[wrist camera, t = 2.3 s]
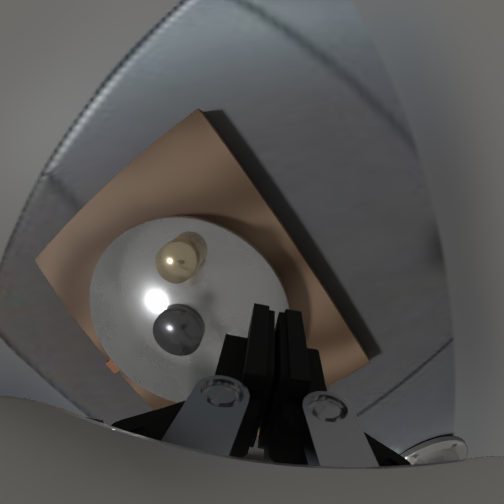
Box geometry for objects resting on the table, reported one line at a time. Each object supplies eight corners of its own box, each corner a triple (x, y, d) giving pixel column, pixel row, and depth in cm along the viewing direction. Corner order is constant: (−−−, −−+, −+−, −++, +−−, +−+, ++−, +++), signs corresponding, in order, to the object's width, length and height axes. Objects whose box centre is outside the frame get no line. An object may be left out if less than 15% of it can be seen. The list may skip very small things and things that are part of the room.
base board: (366, 353, 26) (381, 389, 21) (193, 434, 31) (182, 469, 26) (202, 111, 22) (182, 98, 17) (44, 255, 26) (9, 272, 21)
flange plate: (328, 345, 24) (337, 381, 20) (171, 420, 28) (157, 454, 23) (205, 169, 21) (186, 171, 17) (60, 291, 25) (29, 312, 20)
